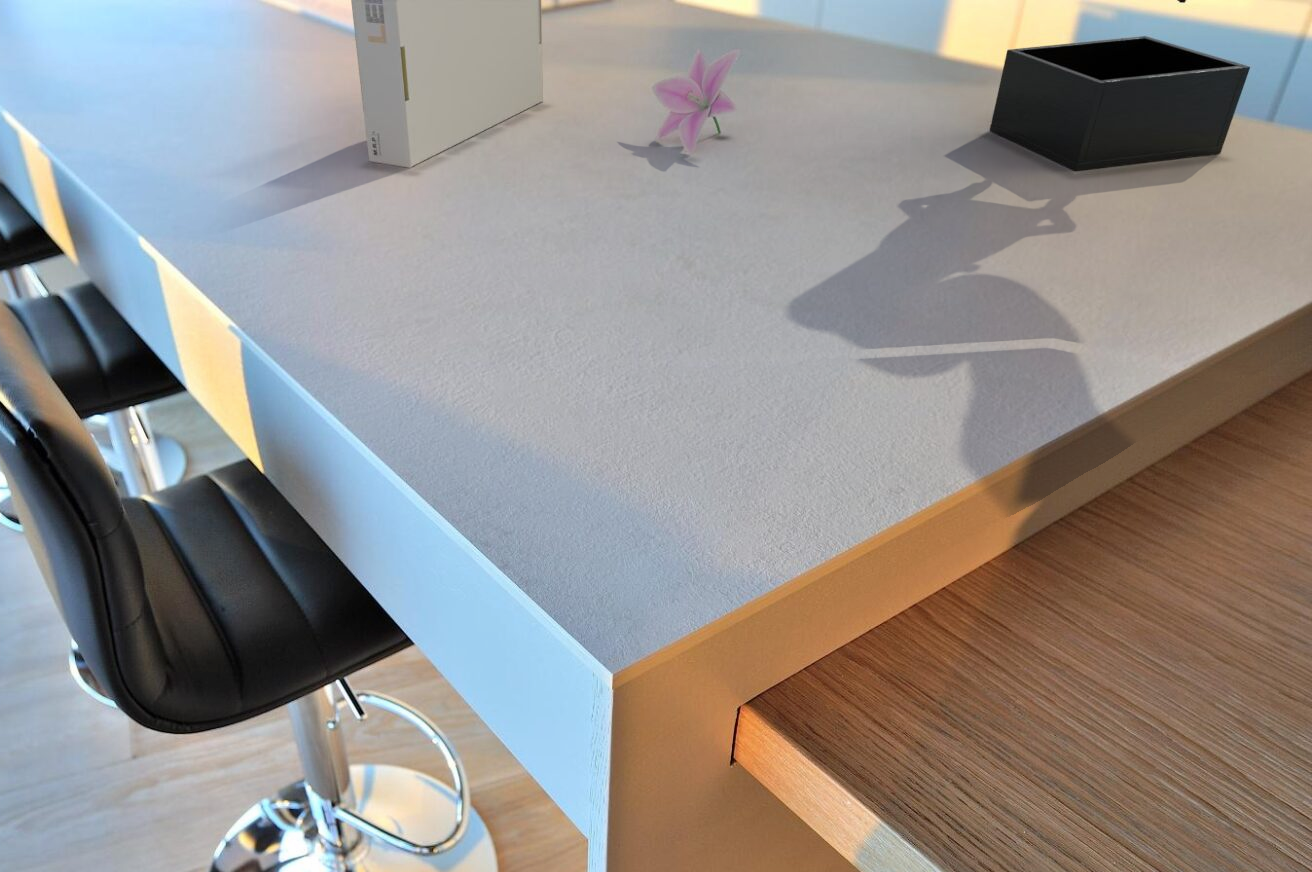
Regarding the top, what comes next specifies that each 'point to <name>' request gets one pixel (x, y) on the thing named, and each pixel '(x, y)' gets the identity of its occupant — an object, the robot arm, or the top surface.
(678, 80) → the lily
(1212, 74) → the black open box
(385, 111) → the packaging
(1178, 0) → the robot arm
